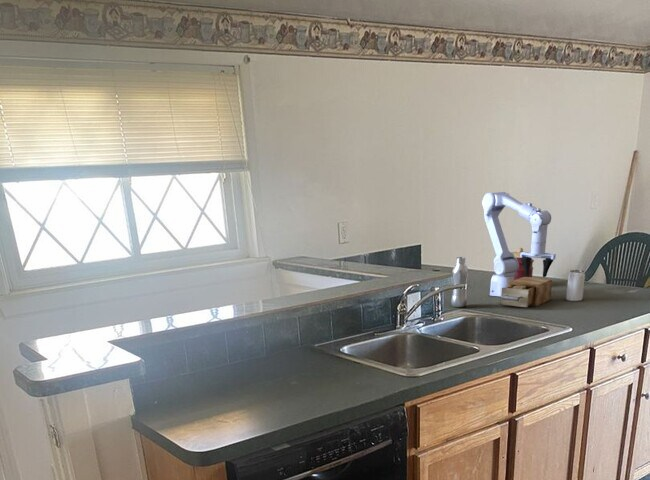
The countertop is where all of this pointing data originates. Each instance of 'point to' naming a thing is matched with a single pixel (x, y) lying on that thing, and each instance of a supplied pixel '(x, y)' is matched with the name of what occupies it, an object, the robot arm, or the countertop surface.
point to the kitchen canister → (521, 271)
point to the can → (575, 285)
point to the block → (519, 287)
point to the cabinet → (541, 286)
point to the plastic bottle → (459, 282)
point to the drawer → (518, 296)
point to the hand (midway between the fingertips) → (535, 275)
